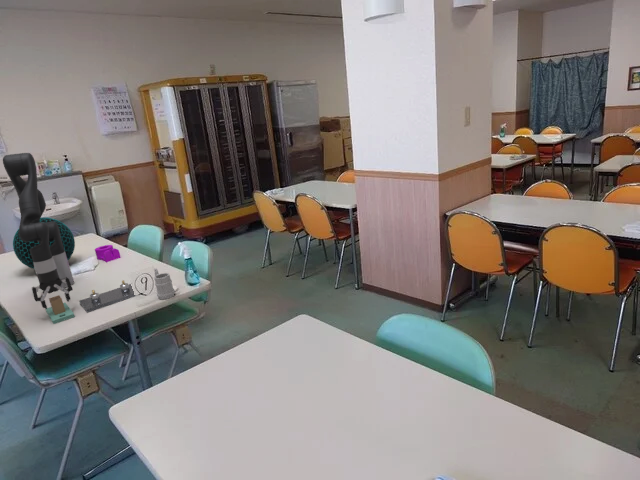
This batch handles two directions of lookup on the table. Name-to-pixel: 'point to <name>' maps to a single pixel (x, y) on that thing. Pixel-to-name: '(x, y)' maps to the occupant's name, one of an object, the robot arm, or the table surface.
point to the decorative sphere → (24, 247)
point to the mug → (163, 285)
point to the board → (60, 316)
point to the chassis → (107, 297)
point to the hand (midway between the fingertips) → (57, 304)
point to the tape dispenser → (107, 253)
